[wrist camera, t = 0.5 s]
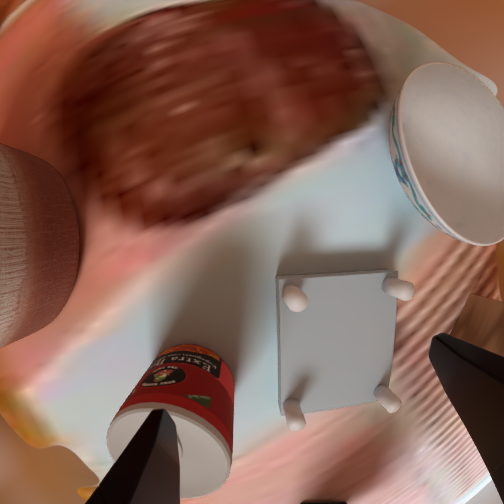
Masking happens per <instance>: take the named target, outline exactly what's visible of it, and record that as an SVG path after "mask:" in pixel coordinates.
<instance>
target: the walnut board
mask: <svg viewBox="0 0 504 504" xmlns="http://www.w3.org/2000/svg"><path fill="white" fill-rule="evenodd" d="M450 335H451V336H453V337H456V338H458V339H461V340H463V341H466V342H468V343H471V344H473V345H476V346H478V347H481V348H483V349H486V350H488V351H491V352H493V353H496V354H498V355H501V356H503V357H504V302H502V301H498V300H494V299H490V298H486V297H482V296H478V295H474V294H471V293H470V295H469V298H468V300H467V302H466V304H465V306H464V308H463V310H462V312H461V314H460V316H459V318H458V320H457V322H456V324H455V326H454V328H453V330H452V332H451V334H450Z"/></svg>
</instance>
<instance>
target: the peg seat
mask: <svg viewBox="0 0 504 504" xmlns="http://www.w3.org/2000/svg"><path fill="white" fill-rule="evenodd" d="M414 291H415V289H414V286H413V284H412V283H410V282H407V281H403V280H400V279H398V271H393V270H389V269H382V270H368V271H354V272H339V273H323V274H306V275H288V276H276V300H277V340H278V404H279V409H280V413H281V416H283V415H285V417H286V421H287V425H288V428H289V429H290V430H293V431H298V430H301V429H302V428H303V427H304V426H305V424H306V421H305V418H304V415H303V413H311V412H318V411H325V410H332V409H338V408H344V407H350V406H355V405H360V404H365V403H370V402H375V401H379V402H380V403H381V404H382V405H383V407H384V408H385V409H386V410H387V411H388V412H389V413H394V412H396V411H397V410H398V409H399V408H400V407H401V400H400V399H399V398H398V397H397V396H396V395H395V394H394V393H393V392H392V391H391V390H390V389H389V381H390V374H391V366H392V358H393V348H394V338H395V325H396V309H397V298H399V299H401V300H404V301H408V300H410V299H411V298H412V297H413V295H414Z"/></svg>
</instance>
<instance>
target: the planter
mask: <svg viewBox="0 0 504 504" xmlns="http://www.w3.org/2000/svg"><path fill="white" fill-rule="evenodd" d="M78 259H79V229H78V221H77V215H76V211H75V207H74V203H73V200H72V197H71V195H70V192H69V190H68V188H67V185H66V184H65V182H64V180H63V179H62V177H61V176H60V174H59V173H58V172H57V171H56V170H55V169H54V168H53V167H52V166H51V165H50V164H48V163H47V162H45V161H44V160H42V159H40V158H38V157H36V156H34V155H31V154H29V153H26V152H23V151H21V150H18V149H15V148H12V147H9V146H6V145H4V144H1V143H0V348H1V347H4V346H6V345H8V344H10V343H13V342H15V341H17V340H19V339H22V338H24V337H26V336H28V335H30V334H33V333H35V332H36V331H38V330H40V329H42V328H44V327H45V326H47V325H48V324H50V323H51V322H52V321H53V320H54V319H55V318H56V317H57V316H58V315H59V314H60V312H61V311H62V309H63V308H64V306H65V305H66V303H67V301H68V299H69V296H70V294H71V291H72V288H73V285H74V282H75V278H76V273H77V268H78Z"/></svg>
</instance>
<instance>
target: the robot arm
mask: <svg viewBox="0 0 504 504" xmlns="http://www.w3.org/2000/svg"><path fill="white" fill-rule="evenodd" d="M429 359H430V361H431V363H432V365H433V367H434V369H435V371H436V374H437V376H438V378H439V380H440V382H441V384H442V386H443V388H444V390H445V392H446V394H447V396H448V398H449V399H450V401H451V403H452V404H453V406H454V408H455V410H456V411H457V413H458V415H459V416H460V418H461V420H462V422H463V423H464V425H465V427H466V429H467V431H468V432H469V434H470V436H471V438H472V440H473V442H474V444H475V445H476V447H477V449H478V451H479V453H480V455H481V457H482V459H483V461H484V463H485V465H486V467H487V469H488V471H489V473H490V476H491V478H492V480H493V482H494V484H495V486H496V488H497V491H498V493H499V495H500V497H501V500H502V502H503V504H504V357H503V356H501V355H498V354H496V353H493V352H491V351H488V350H486V349H483V348H481V347H478V346H476V345H473V344H471V343H468V342H466V341H463V340H461V339H458V338H456V337H453V336H451V335H448V334H446V333H440V334H438V335H435V336H434V337H433V338H432V341H431V346H430V350H429ZM85 504H180V461H179V451H178V441H177V429H176V424H175V422H174V420H173V419H172V418H171V416H170V415H169V413H168V412H167V410H166V409H164V408H160V409H153V410H152V411H151V412H150V414H149V415H148V416H147V418H146V419H145V421H144V422H143V423H142V425H141V426H140V428H139V429H138V431H137V432H136V433H135V435H134V436H133V438H132V439H131V440H130V442H129V443H128V445H127V446H126V448H125V449H124V450H123V452H122V453H121V455H120V456H119V457H118V459H117V460H116V462H115V463H114V464H113V466H112V467H111V469H110V470H109V472H108V473H107V474H106V476H105V477H104V479H103V480H102V481H101V483H100V484H99V486H98V487H97V488H96V490H95V491H94V492H93V494H92V495H91V496H90V498H89V499H88V500H87V502H86V503H85ZM302 504H347V503H346V502H337V503H302Z"/></svg>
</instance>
